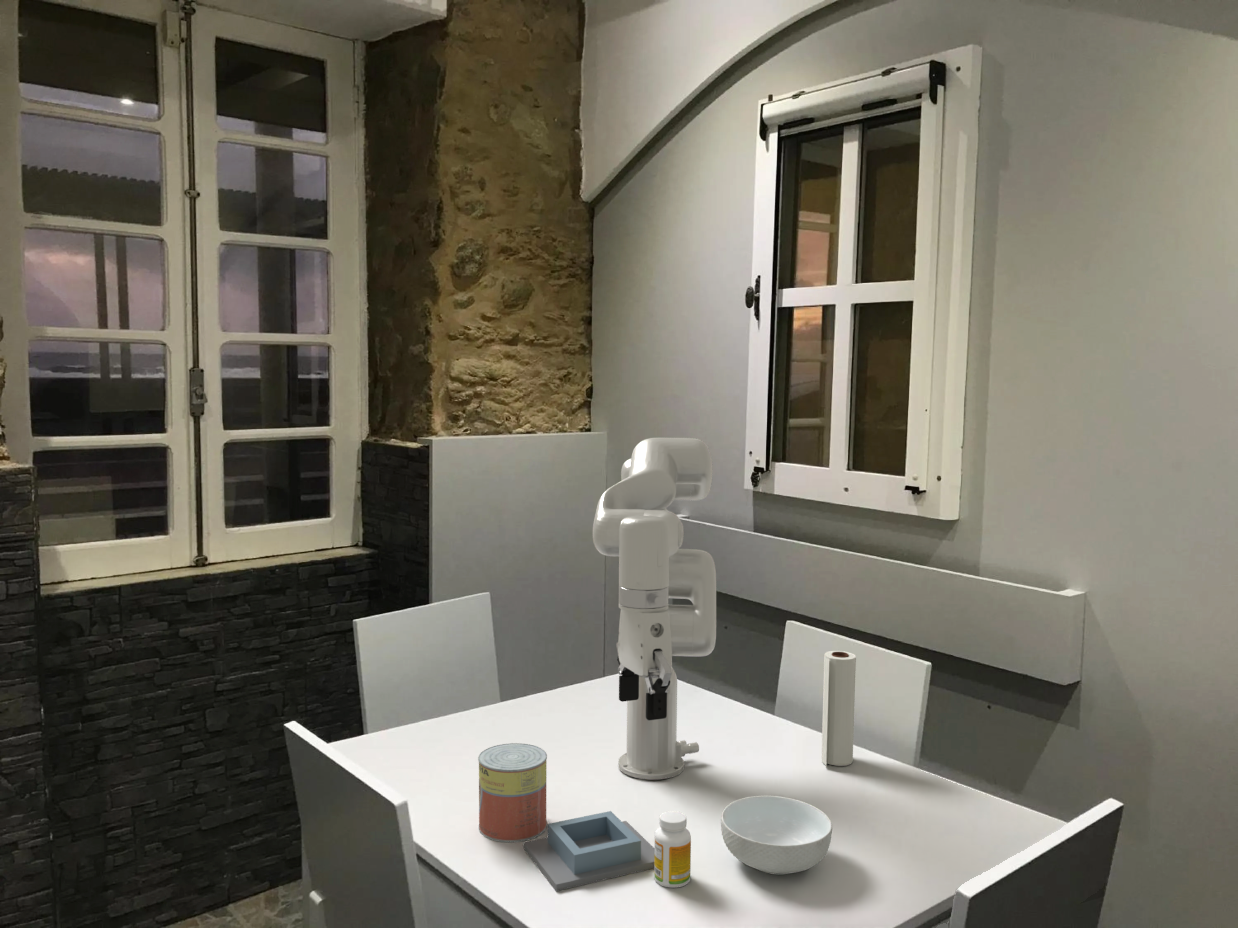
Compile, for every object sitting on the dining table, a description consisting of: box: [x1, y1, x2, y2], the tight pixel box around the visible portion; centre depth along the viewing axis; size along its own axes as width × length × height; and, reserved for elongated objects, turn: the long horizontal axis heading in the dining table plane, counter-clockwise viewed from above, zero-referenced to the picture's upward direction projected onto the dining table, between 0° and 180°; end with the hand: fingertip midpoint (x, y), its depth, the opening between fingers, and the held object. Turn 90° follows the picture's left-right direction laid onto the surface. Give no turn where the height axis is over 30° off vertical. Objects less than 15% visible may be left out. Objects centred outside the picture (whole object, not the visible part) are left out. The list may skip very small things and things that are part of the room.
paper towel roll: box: [821, 650, 857, 769], centre depth 188 cm, size 7×6×21 cm
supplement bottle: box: [653, 810, 692, 889], centre depth 144 cm, size 5×5×10 cm
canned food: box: [477, 742, 548, 843], centre depth 160 cm, size 11×11×12 cm
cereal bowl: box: [720, 795, 833, 875], centre depth 149 cm, size 17×17×7 cm
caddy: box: [522, 810, 655, 892], centre depth 150 cm, size 18×14×4 cm
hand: (642, 709), depth 147 cm, fingers open, 9 cm apart
